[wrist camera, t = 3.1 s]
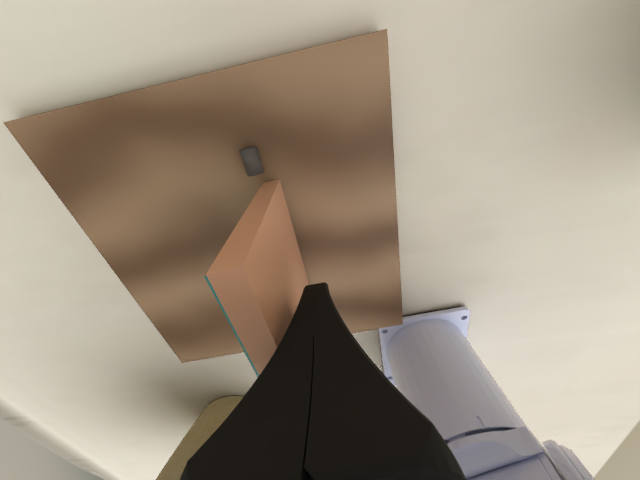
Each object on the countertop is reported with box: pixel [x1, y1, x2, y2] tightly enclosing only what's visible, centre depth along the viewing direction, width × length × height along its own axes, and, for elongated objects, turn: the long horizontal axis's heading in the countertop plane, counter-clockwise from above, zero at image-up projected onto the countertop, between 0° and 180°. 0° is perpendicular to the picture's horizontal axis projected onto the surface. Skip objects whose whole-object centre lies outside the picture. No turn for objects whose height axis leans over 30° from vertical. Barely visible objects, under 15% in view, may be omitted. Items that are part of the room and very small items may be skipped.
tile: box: [205, 179, 309, 377], centre depth 12 cm, size 9×1×9 cm, turn 11°
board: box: [4, 29, 403, 363], centre depth 17 cm, size 20×20×2 cm
